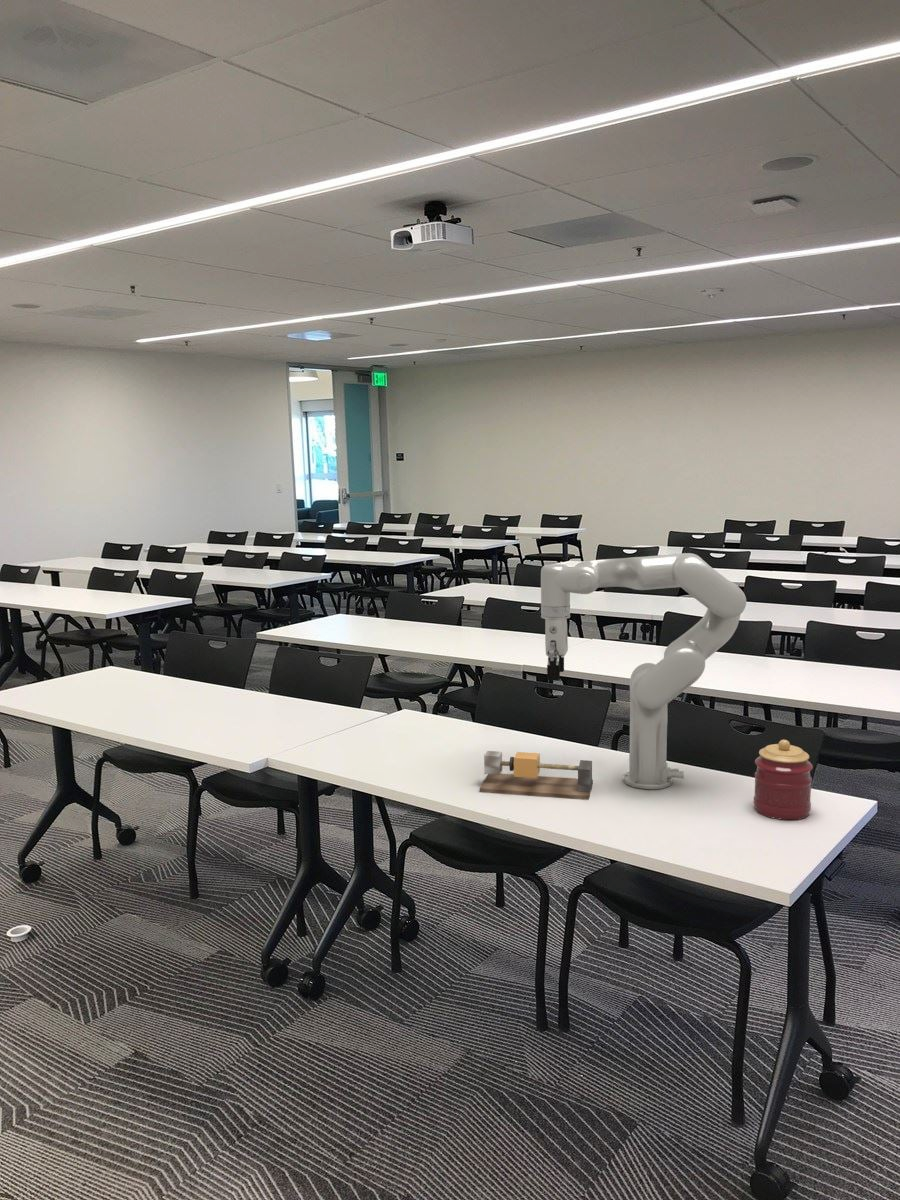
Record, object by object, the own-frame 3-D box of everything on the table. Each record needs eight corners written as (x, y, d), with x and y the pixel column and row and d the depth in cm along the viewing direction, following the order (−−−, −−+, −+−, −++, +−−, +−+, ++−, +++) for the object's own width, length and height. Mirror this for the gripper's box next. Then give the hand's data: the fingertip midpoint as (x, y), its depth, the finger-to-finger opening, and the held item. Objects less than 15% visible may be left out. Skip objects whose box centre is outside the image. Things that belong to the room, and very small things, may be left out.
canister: (806, 824, 209) (809, 751, 206) (748, 815, 215) (750, 743, 212) (814, 806, 220) (817, 736, 217) (758, 797, 226) (761, 729, 223)
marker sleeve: (539, 771, 237) (539, 753, 236) (536, 778, 232) (536, 759, 232) (517, 770, 239) (516, 751, 238) (513, 776, 234) (513, 758, 233)
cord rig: (592, 783, 238) (593, 752, 237) (588, 799, 226) (588, 767, 225) (488, 776, 245) (488, 746, 243) (479, 791, 233) (479, 760, 232)
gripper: (566, 617, 226) (566, 684, 229) (573, 606, 243) (573, 668, 245) (536, 617, 228) (537, 683, 230) (545, 606, 244) (545, 668, 247)
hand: (555, 675), depth 238 cm, fingers open, 9 cm apart
